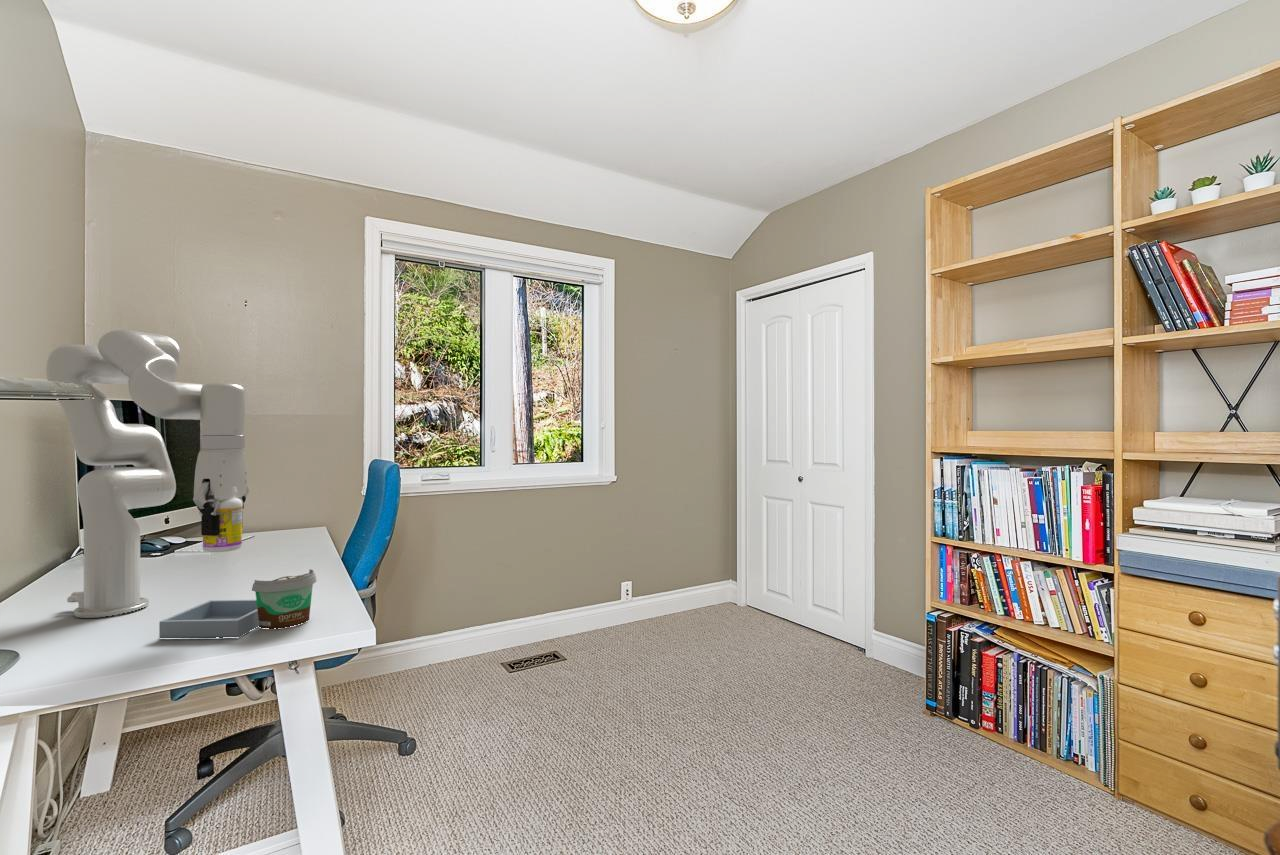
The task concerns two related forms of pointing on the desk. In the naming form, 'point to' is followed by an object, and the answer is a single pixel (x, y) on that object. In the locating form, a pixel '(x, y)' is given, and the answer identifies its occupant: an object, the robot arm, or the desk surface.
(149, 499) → the robot arm
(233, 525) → the supplement bottle
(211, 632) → the tray
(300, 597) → the food container
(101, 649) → the desk surface
